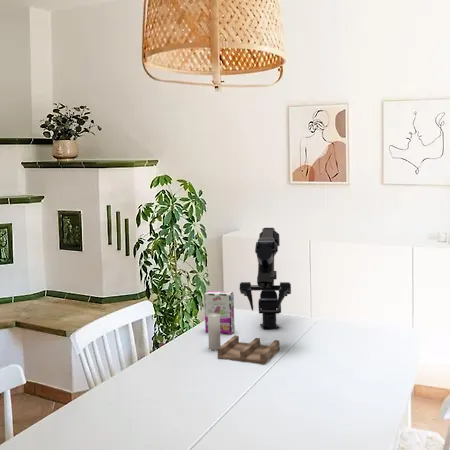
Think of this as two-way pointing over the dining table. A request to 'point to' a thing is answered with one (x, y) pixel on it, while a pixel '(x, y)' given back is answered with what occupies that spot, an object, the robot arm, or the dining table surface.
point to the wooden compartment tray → (248, 350)
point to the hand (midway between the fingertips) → (265, 310)
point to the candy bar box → (220, 309)
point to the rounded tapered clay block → (214, 331)
